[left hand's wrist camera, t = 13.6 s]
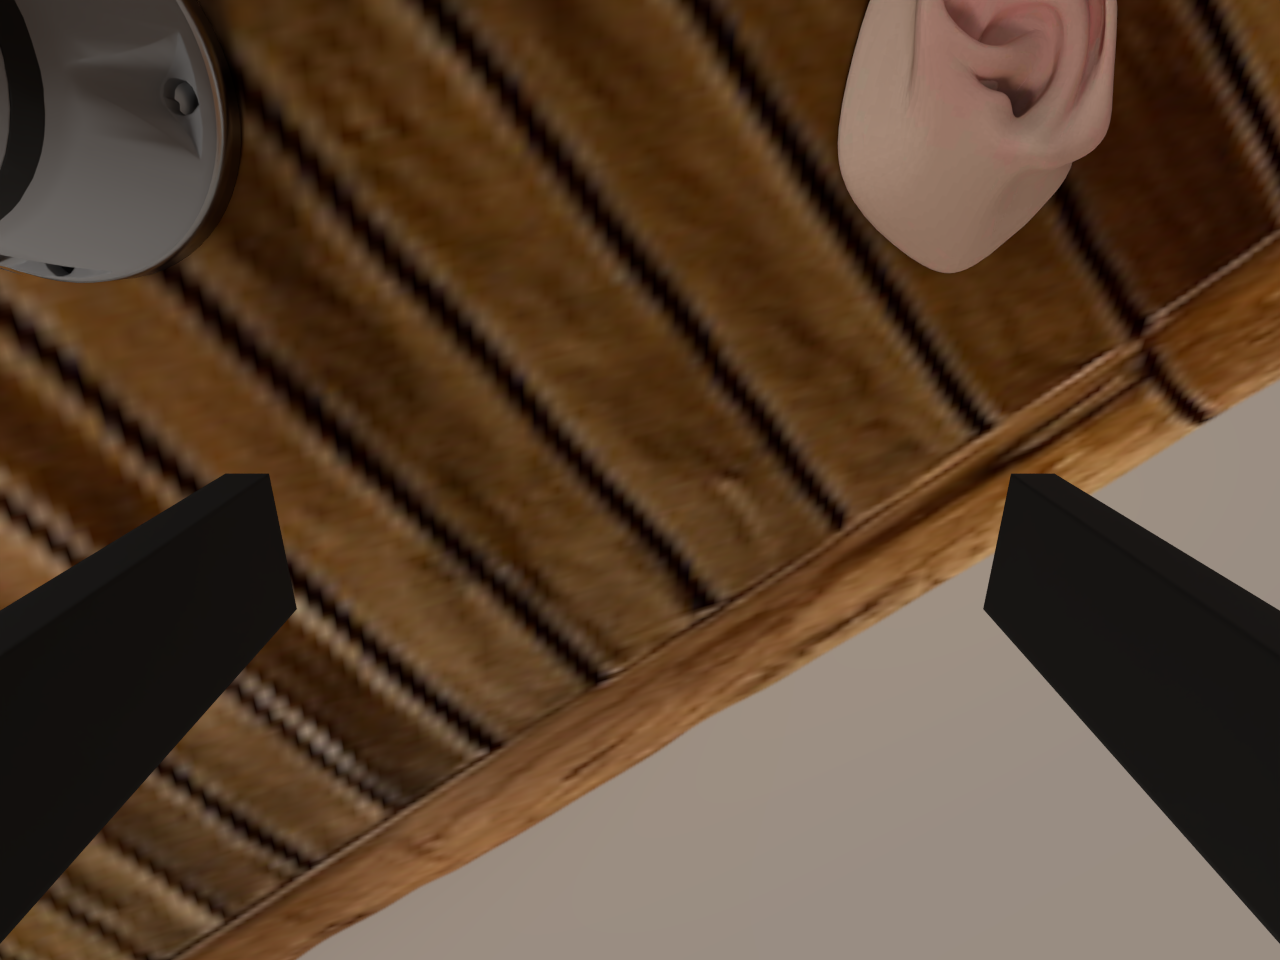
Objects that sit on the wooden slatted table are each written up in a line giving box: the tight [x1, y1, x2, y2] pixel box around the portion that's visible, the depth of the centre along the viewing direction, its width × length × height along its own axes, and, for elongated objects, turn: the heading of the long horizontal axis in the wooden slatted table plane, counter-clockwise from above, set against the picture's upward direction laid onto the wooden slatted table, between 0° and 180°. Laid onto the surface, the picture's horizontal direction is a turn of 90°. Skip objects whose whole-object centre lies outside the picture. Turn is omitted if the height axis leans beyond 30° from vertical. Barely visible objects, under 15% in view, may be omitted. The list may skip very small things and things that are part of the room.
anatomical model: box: [838, 0, 1117, 273], centre depth 28 cm, size 13×4×12 cm
